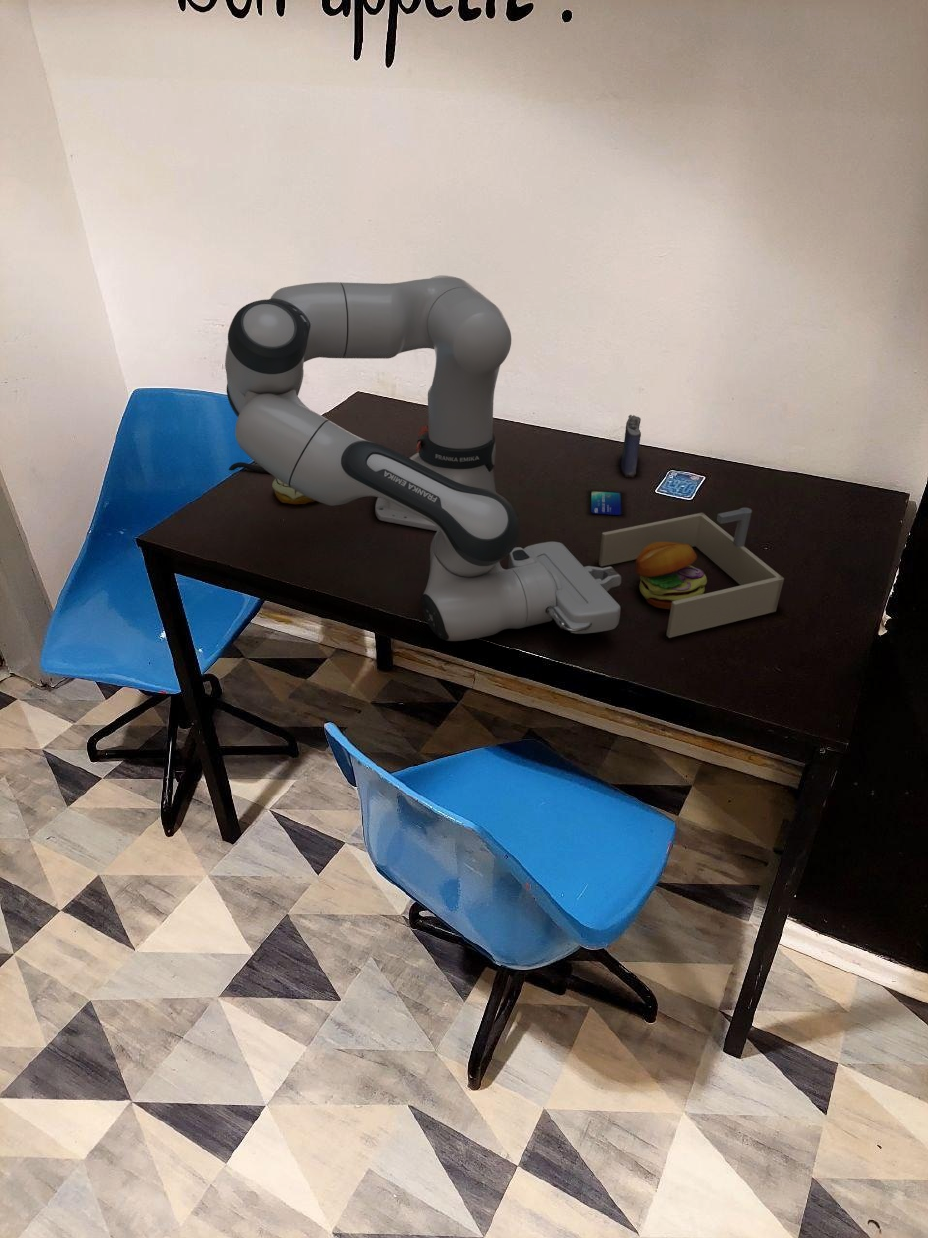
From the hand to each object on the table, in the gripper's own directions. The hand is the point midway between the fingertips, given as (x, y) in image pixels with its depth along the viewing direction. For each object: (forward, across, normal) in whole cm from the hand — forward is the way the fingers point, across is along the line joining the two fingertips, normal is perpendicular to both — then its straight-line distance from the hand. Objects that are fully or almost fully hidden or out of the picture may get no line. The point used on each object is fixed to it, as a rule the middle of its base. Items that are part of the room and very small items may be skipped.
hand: (616, 575), depth 133 cm
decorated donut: (-36, +53, +5) cm, 64 cm away
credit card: (+14, +29, +5) cm, 33 cm away
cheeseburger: (+9, -1, +5) cm, 10 cm away
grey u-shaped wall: (+12, 0, +5) cm, 13 cm away
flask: (+26, +41, +5) cm, 48 cm away
